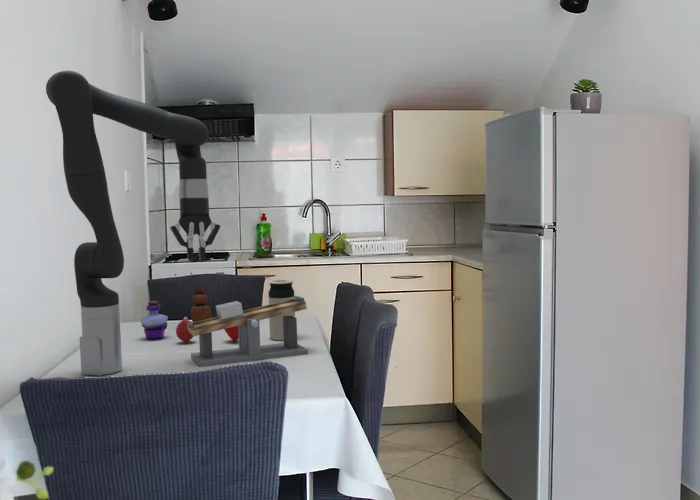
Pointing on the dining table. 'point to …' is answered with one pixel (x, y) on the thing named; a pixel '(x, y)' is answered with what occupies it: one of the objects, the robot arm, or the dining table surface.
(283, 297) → the travel mug
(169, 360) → the dining table surface
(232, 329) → the strawberry
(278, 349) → the pivot stand
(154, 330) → the potion bottle
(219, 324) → the beam
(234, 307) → the block
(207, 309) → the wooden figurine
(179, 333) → the pomegranate
